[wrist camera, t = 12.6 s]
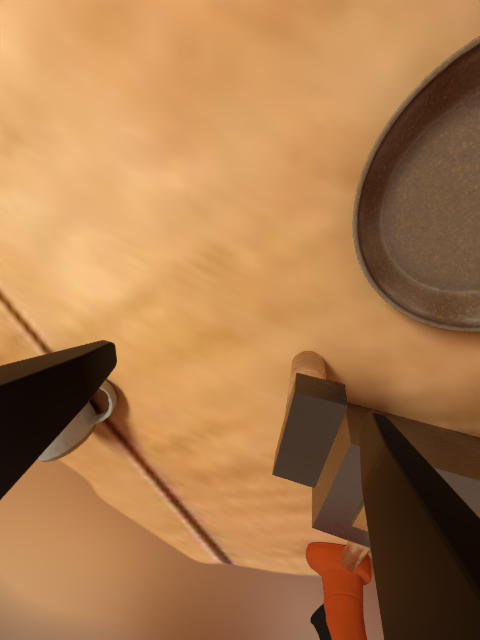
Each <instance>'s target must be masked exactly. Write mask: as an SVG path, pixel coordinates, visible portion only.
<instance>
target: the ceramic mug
mask: <svg viewBox="0 0 480 640" xmlns="http://www.w3.org/2000/svg"><path fill="white" fill-rule="evenodd" d="M99 389H101V390H103V391H104V392H106V394H107V395H108V397H109V399H108V402H109V404H110V405H109V409H108V410H106V411H105V412H103V413H101V414H99V415H96V413H95V411H94V408H93V407H92V405H91V404H90V402H88V403H87V404H86V406H85V407H84V408H83V409H82V410H81V411H80V412H79V413H78V415H77V416H76V417H75V418H74V419H73V420H72V421H71V422H70V423H69V424H68V426H67V427H66V428H65V429H64V430H63V431H62V432H61V433H60V434H59V436H58V437H57V438H56V439H55V440H54V441H53V442H52V443H51V444H50V446H49V447H48V448H47V449H46V450H45V451H44V452H43V453H42V454H41V456H40V457H39V458H38V460H40V461H42V462H49V461H54V460H57V459H59V458H62V457H64V456H66V455H67V454H69V453H71V452H72V451H74V450H75V449H77V448H78V447H79V446H80V445H81V444H83V443H84V442H85V441H86V440H87V439H88V437H89V436H90V435H91V434H92V432H93V431H94V429H95V426H96V424H98V423H100V422H102V421H104V420H105V419H106V418H108V417H109V416H110V414H111V413H112V412H113V410H114V408H115V405H116V402H117V395H116V392H115V390H114V388H113V386H112V385H111V384H110V383H109V382H108V381H106V380H105V381H104V383H103V384H102V385H101V387H100V388H99Z"/></svg>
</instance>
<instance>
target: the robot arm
mask: <svg viewBox="0 0 480 640" xmlns="http://www.w3.org/2000/svg"><path fill="white" fill-rule="evenodd" d="M116 363H117V357H116V349H115V345H114V343H112V342H109V341H105V340H101V341H97V342H93V343H89V344H85V345H81V346H77V347H73V348H69V349H65V350H61V351H57V352H53V353H49V354H45V355H41V356H37V357H33V358H29V359H25V360H22V361H18V362H14V363H10V364H6V365H2V366H0V500H1V499H2V497H3V496H4V495H5V494H6V493H7V492H8V491H9V490H10V489H11V488H12V486H13V485H14V484H15V483H16V482H17V481H18V480H19V479H20V478H21V477H22V475H23V474H24V473H25V472H26V471H27V470H28V469H29V468H30V467H31V465H32V464H33V463H34V462H35V461H36V460H37V459H38V458H39V457H40V456H41V454H42V453H43V452H44V451H45V450H46V449H47V448H48V447H49V446H50V444H51V443H52V442H53V441H54V440H55V439H56V438H57V437H58V436H59V434H60V433H61V432H62V431H63V430H64V429H65V428H66V427H67V426H68V424H69V423H70V422H71V421H72V420H73V419H74V418H75V417H76V416H77V415H78V413H79V412H80V411H81V410H82V409H83V408H84V407H85V406H86V404H87V403H88V402H89V401H90V400H91V399H92V397H93V396H94V395H95V393H96V392H97V391H98V389H99V388H100V387H101V385H102V384H103V383H104V381H105V380H106V379H107V377H108V376H109V375H110V373H111V372H112V371H113V369H114V368H115V366H116ZM359 438H360V465H361V486H362V494H363V501H364V508H365V514H366V521H367V528H368V534H369V541H370V548H371V554H372V561H373V568H374V574H375V581H376V588H377V594H378V600H379V607H380V614H381V620H382V628H383V634H384V640H480V518H479V517H478V516H477V514H476V513H475V512H474V511H473V510H472V509H471V508H470V507H469V506H468V505H467V504H466V502H465V501H464V500H463V499H462V498H461V497H460V496H459V495H458V494H457V493H456V492H455V490H454V489H453V488H452V487H451V486H450V485H449V484H448V483H447V482H446V481H445V480H444V478H443V477H442V476H441V475H440V474H439V473H438V472H437V471H436V470H435V469H434V468H433V466H432V465H431V464H430V463H429V462H428V461H427V460H426V459H425V458H424V457H423V456H422V455H421V453H420V452H419V451H418V450H417V449H416V448H415V447H414V446H413V445H412V444H411V443H410V441H409V440H408V439H407V438H406V437H405V436H404V435H403V434H402V433H401V432H400V431H399V429H398V428H397V427H396V426H395V425H394V424H393V423H392V422H391V421H390V420H389V419H388V417H387V416H386V415H384V414H381V413H378V412H374V411H371V412H369V413H368V415H367V417H366V419H365V421H364V423H363V425H362V427H361V430H360V436H359Z"/></svg>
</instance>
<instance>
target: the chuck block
mask: <svg viewBox="0 0 480 640" xmlns="http://www.w3.org/2000/svg"><path fill="white" fill-rule="evenodd" d="M371 411H374V412H378V413H381V414H384V415H386V416H387V417H388V419H389V420H390V421H391V422H392V423H393V424H394V425H395V426H396V427H397V428H398V429H399V431H400V432H401V433H402V434H403V435H404V436H405V437H406V438H407V439H408V440H409V441H410V443H411V444H412V445H413V446H414V447H415V448H416V449H417V450H418V451H419V452H420V453H421V455H422V456H423V457H424V458H425V459H426V460H427V461H428V462H429V463H430V464H431V465H432V466H433V468H434V469H435V470H436V471H437V472H438V473H439V474H440V475H441V476H442V477H443V478H444V480H445V481H446V482H447V483H448V484H449V485H450V486H451V487H452V488H453V489H454V490H455V492H456V493H457V494H458V495H459V496H460V497H461V498H462V499H463V500H464V501H465V502H466V504H467V505H468V506H469V507H470V508H471V509H472V510H473V511H474V512H475V513H476V514H477V516H478V517H479V518H480V438H478V437H474V436H471V435H467V434H463V433H459V432H455V431H452V430H448V429H444V428H440V427H436V426H433V425H429V424H425V423H421V422H417V421H414V420H410V419H406V418H402V417H399V416H395V415H391V414H387V413H383V412H380V411H376V410H372V409H368V408H364V407H361V406H357V405H353V404H349V403H348V407H347V410H346V412H345V415H344V417H343V420H342V422H341V425H340V427H339V430H338V432H337V435H336V437H335V440H334V442H333V445H332V447H331V450H330V452H329V455H328V457H327V460H326V462H325V465H324V467H323V470H322V472H321V475H320V477H319V480H318V482H317V485H316V487H315V488H312V528H314V529H317V530H320V531H323V532H326V533H328V534H331V535H334V536H337V537H340V538H343V539H345V540H348V543H347V545H346V546H345V548H344V550H343V551H342V553H341V555H340V559H341V563H342V565H343V566H344V567H345V568H346V569H347V570H348V571H351V572H352V571H355V570H356V568H357V567H358V566H359V564H360V563H361V561H362V560H363V558H364V557H365V556H366V554H367V553H368V551H369V550H370V541H369V534H368V528H367V521H366V514H365V508H364V501H363V494H362V486H361V465H360V438H359V436H360V430H361V427H362V425H363V423H364V421H365V419H366V417H367V415H368V413H369V412H371Z"/></svg>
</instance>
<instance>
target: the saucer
mask: <svg viewBox="0 0 480 640" xmlns="http://www.w3.org/2000/svg"><path fill="white" fill-rule="evenodd" d="M353 237H354V245H355V250H356V254H357V258H358V261H359V264H360V266H361V269H362V271H363V273H364V275H365V277H366V278H367V280H368V281H369V283H370V284H371V286H372V287H373V288H374V290H375V291H376V292H377V293H378V294H379V295H380V296H381V297H382V298H383V299H384V300H385V301H386V302H387V303H389V304H390V305H391V306H392V307H393V308H395V309H396V310H398V311H399V312H401V313H402V314H404V315H406V316H408V317H410V318H412V319H414V320H417V321H419V322H421V323H424V324H428V325H431V326H434V327H439V328H443V329H449V330H455V331H468V332H480V36H479V37H477V38H475V39H474V40H472V41H471V42H470V43H468V44H467V45H465V46H464V47H462V48H461V49H460V50H458V51H457V52H456V53H454V54H453V55H452V56H450V57H449V58H448V59H447V60H445V61H444V62H443V63H442V64H441V65H439V66H438V67H437V68H436V69H435V70H434V71H433V72H431V73H430V74H429V75H428V76H427V77H426V78H425V79H424V80H423V81H422V82H421V83H420V84H419V85H418V86H417V87H416V89H415V90H414V91H413V92H412V93H411V94H410V95H409V96H408V97H407V99H406V100H405V101H404V102H403V103H402V105H401V106H400V107H399V108H398V110H397V111H396V112H395V114H394V115H393V116H392V118H391V119H390V121H389V122H388V123H387V125H386V127H385V128H384V129H383V131H382V133H381V134H380V136H379V137H378V139H377V141H376V143H375V145H374V147H373V149H372V150H371V152H370V154H369V156H368V159H367V161H366V164H365V166H364V169H363V172H362V174H361V178H360V181H359V184H358V188H357V193H356V197H355V202H354V211H353Z"/></svg>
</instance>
